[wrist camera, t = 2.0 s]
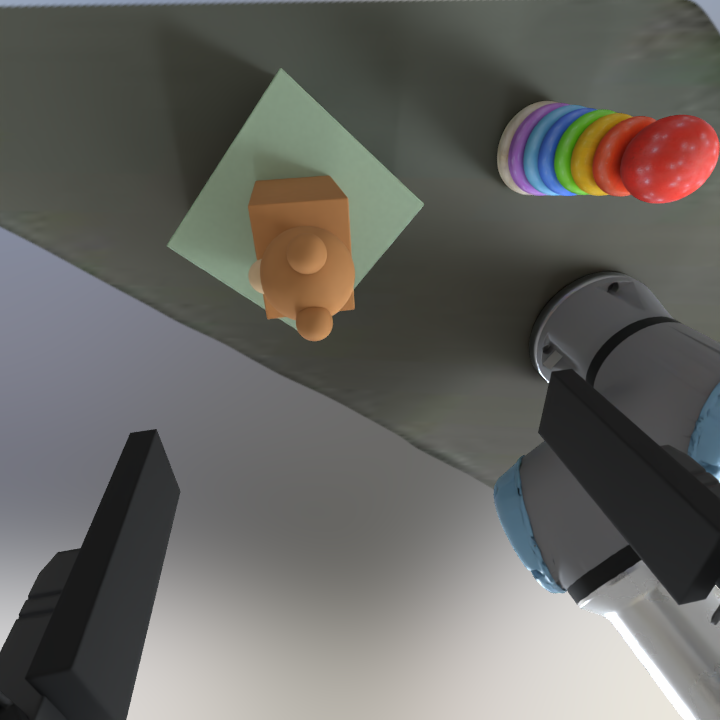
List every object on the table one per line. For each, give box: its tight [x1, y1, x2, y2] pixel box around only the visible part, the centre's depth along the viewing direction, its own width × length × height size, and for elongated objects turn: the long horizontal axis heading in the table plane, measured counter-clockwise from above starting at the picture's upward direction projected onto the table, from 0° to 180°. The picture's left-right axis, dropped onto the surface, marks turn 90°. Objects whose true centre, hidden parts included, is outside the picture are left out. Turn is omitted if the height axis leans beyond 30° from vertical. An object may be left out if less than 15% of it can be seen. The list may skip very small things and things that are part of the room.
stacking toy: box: [497, 101, 719, 203], centre depth 33 cm, size 8×8×19 cm
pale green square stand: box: [167, 68, 424, 330], centre depth 36 cm, size 13×14×10 cm
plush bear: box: [248, 175, 355, 341], centre depth 25 cm, size 6×6×14 cm
